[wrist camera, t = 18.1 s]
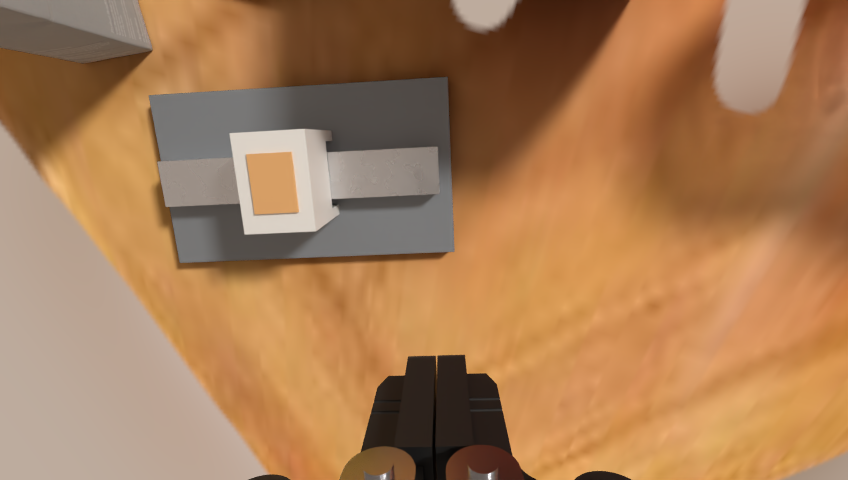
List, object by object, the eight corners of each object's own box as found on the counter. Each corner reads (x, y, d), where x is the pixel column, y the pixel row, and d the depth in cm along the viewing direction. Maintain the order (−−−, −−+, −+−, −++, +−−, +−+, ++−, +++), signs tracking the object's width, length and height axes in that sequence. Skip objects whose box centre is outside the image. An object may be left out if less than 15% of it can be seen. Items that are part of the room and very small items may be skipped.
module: (270, 134, 35) (227, 133, 28) (331, 130, 35) (303, 128, 28) (281, 216, 37) (243, 235, 30) (339, 214, 37) (315, 232, 30)
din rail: (439, 190, 36) (439, 193, 34) (180, 203, 37) (165, 207, 35) (437, 146, 35) (437, 146, 33) (172, 160, 36) (157, 161, 34)
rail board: (454, 247, 38) (454, 251, 37) (189, 258, 40) (179, 262, 38) (447, 79, 35) (447, 76, 34) (160, 97, 37) (148, 95, 35)
